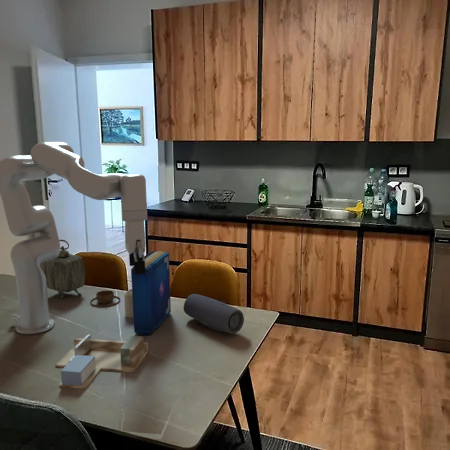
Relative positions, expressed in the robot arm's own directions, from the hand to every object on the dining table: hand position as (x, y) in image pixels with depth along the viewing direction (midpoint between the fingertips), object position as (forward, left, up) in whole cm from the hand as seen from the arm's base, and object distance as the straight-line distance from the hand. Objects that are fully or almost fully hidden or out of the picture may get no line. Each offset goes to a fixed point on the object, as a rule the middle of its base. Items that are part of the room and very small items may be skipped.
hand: (137, 269), depth 136 cm
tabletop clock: (-46, +40, -26) cm, 66 cm away
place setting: (-23, +36, -27) cm, 50 cm away
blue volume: (-1, +18, -26) cm, 31 cm away
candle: (-11, +25, -26) cm, 38 cm away
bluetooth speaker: (+21, +19, -26) cm, 38 cm away
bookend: (-14, -10, -25) cm, 30 cm away
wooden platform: (-8, -10, -26) cm, 29 cm away
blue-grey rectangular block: (-10, -21, -25) cm, 34 cm away
